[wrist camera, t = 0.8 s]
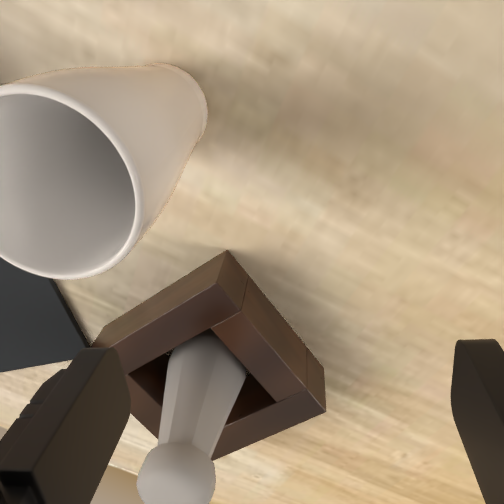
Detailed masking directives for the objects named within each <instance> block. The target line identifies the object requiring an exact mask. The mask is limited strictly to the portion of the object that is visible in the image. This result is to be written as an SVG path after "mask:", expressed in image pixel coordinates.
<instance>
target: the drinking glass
mask: <svg viewBox="0 0 504 504" xmlns="http://www.w3.org/2000/svg"><path fill="white" fill-rule="evenodd" d="M207 119H208V108H207V102H206V99H205V96H204V93H203V91H202V89H201V88H200V86H199V85H198V83H197V82H196V81H195V79H194V78H193V77H192V76H190V75H189V74H188V73H187V72H185V71H184V70H182V69H180V68H178V67H176V66H173V65H170V64H165V63H153V64H148V65H144V66H121V67H79V68H69V69H61V70H55V71H50V72H45V73H41V74H36V75H32V76H29V77H25V78H22V79H18V80H15V81H12V82H10V83H7V84H4V85H1V86H0V257H1V258H2V259H4V260H5V261H7V262H9V263H11V264H12V265H14V266H16V267H18V268H20V269H22V270H25V271H27V272H30V273H32V274H36V275H39V276H43V277H47V278H53V279H62V280H75V279H83V278H88V277H92V276H95V275H98V274H101V273H103V272H105V271H107V270H109V269H111V268H112V267H114V266H115V265H117V264H118V263H119V262H121V261H122V260H123V259H124V258H125V257H126V256H127V255H128V253H129V252H130V251H131V250H132V249H133V248H134V247H135V245H136V244H137V243H138V242H139V241H140V240H141V239H142V238H143V236H144V235H145V234H146V233H147V231H148V230H149V229H150V228H151V226H152V225H153V224H154V222H155V221H156V220H157V218H158V217H159V215H160V214H161V212H162V211H163V209H164V208H165V206H166V204H167V203H168V201H169V199H170V198H171V196H172V194H173V192H174V190H175V187H176V185H177V183H178V181H179V179H180V177H181V175H182V173H183V170H184V168H185V166H186V164H187V162H188V160H189V157H190V155H191V153H192V151H193V149H194V147H195V145H196V144H197V143H198V141H199V140H200V139H201V137H202V135H203V133H204V131H205V128H206V125H207Z"/></svg>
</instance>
